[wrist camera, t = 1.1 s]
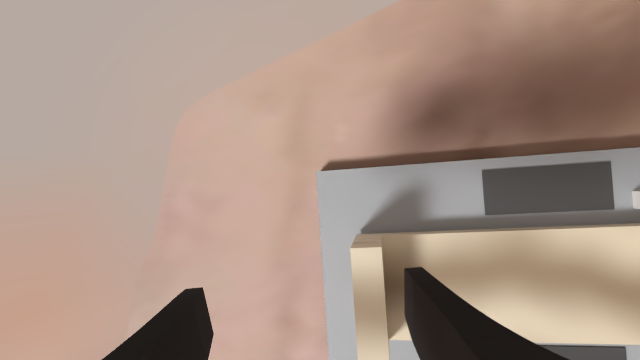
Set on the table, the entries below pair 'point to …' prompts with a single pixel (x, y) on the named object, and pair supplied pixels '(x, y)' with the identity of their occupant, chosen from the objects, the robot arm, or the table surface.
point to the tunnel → (636, 199)
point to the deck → (468, 218)
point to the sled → (506, 281)
